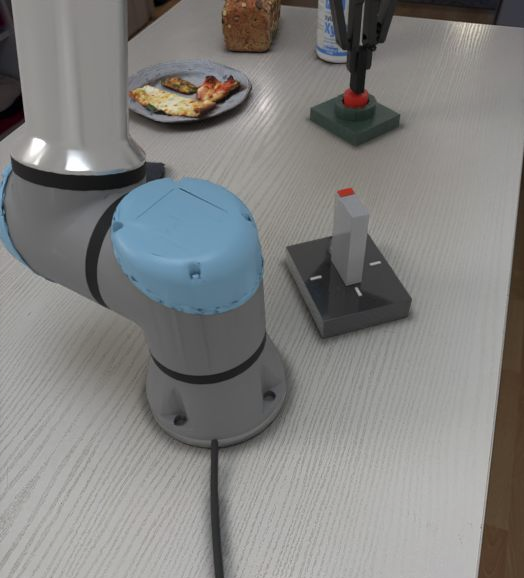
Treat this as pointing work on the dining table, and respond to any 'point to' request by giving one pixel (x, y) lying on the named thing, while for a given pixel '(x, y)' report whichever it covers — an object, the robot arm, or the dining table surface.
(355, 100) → the power button
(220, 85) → the food plate
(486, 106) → the dining table surface
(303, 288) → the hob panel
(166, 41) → the dining table surface
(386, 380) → the dining table surface
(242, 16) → the bread
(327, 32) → the supplement tub
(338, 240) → the grey block red corner
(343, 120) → the switch box
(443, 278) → the dining table surface
